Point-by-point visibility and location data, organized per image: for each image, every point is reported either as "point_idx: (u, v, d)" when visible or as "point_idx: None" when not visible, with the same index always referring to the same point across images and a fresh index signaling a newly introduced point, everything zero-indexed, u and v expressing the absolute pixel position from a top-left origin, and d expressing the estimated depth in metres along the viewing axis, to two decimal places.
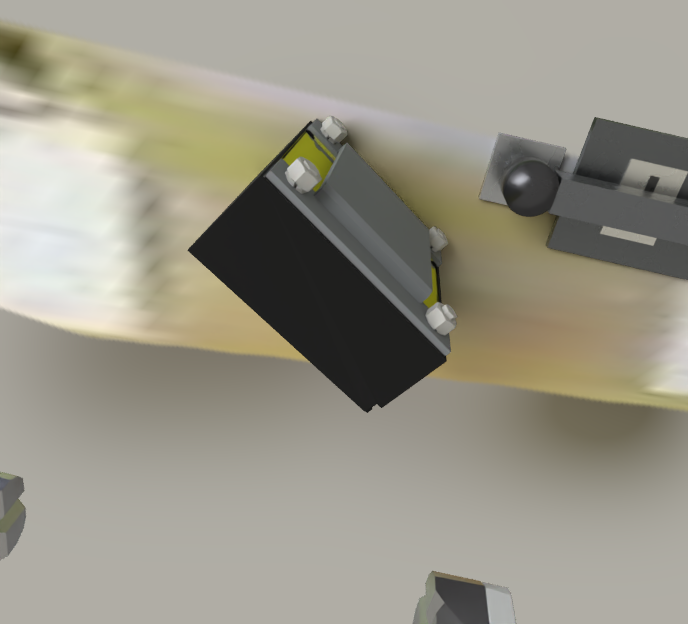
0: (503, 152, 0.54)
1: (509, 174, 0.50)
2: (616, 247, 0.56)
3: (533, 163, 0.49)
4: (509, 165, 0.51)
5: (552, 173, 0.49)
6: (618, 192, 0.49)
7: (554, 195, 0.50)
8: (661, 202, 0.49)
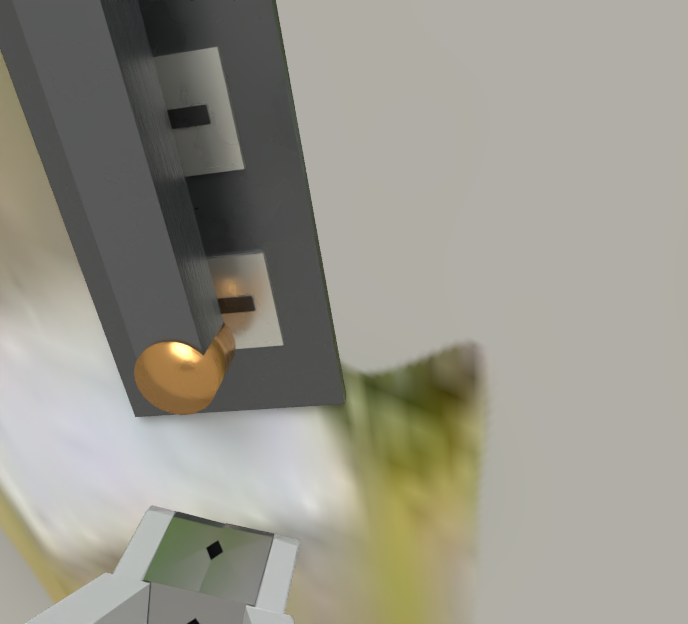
0: None
1: None
2: None
3: None
4: None
5: None
6: (99, 6, 0.20)
7: None
8: (132, 118, 0.21)
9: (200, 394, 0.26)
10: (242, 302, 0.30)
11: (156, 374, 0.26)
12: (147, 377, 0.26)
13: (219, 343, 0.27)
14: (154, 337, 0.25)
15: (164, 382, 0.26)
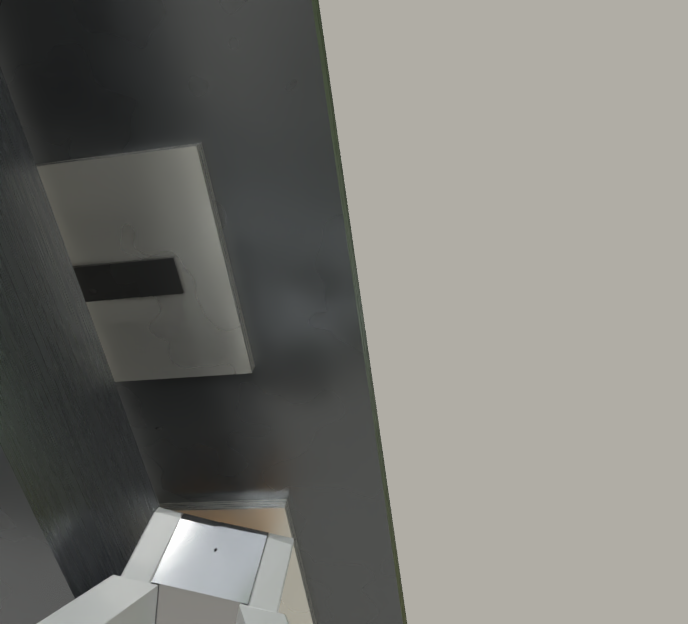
0: None
1: None
2: None
3: None
4: None
5: None
6: None
7: None
8: None
9: None
10: None
11: None
12: None
13: None
14: None
15: None
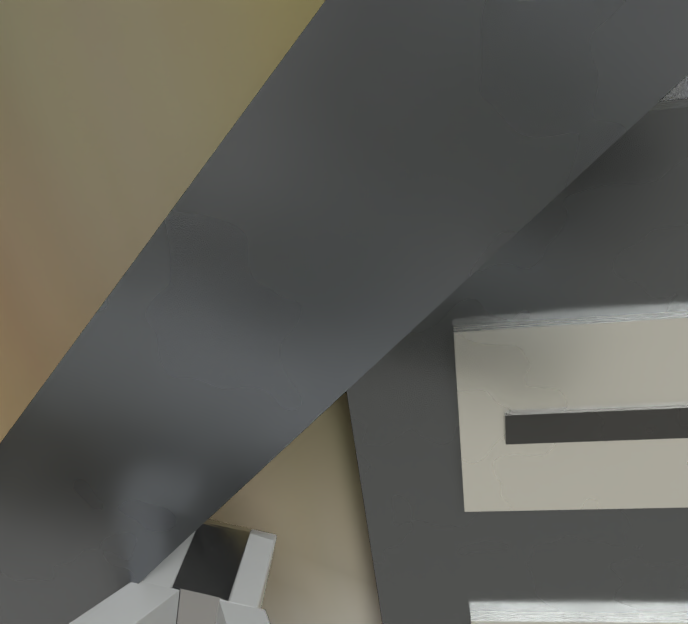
0: None
1: None
2: (413, 407, 0.14)
3: None
4: None
5: None
6: (419, 313, 0.07)
7: None
8: (243, 478, 0.09)
9: None
10: None
11: None
12: None
13: None
14: None
15: None
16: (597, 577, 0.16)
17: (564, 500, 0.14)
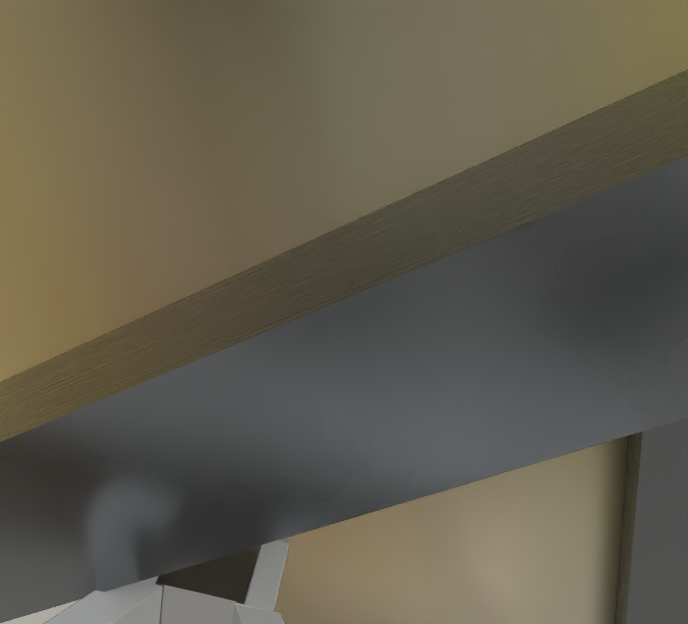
0: None
1: None
2: None
3: None
4: None
5: None
6: None
7: None
8: (525, 460, 0.08)
9: None
10: None
11: None
12: None
13: None
14: None
15: None
16: None
17: None
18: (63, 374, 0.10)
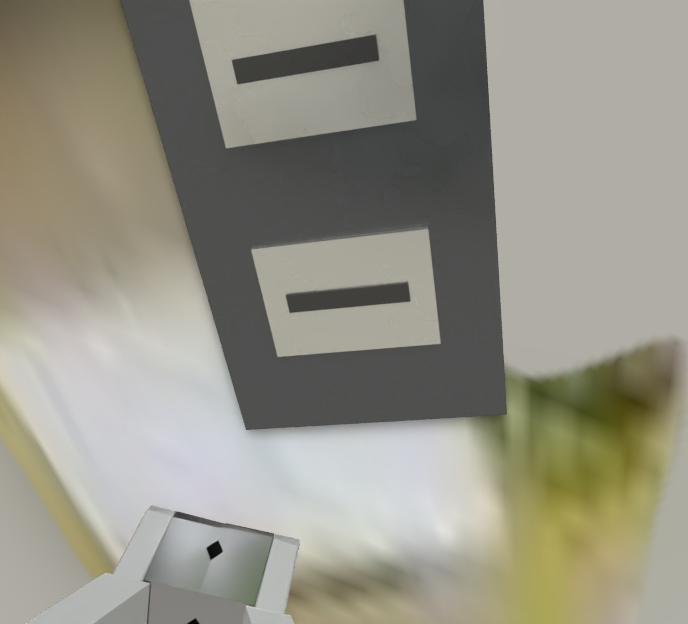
0: None
1: None
2: (180, 67, 0.21)
3: None
4: None
5: None
6: None
7: None
8: None
9: None
10: (395, 291, 0.24)
11: None
12: None
13: None
14: None
15: None
16: (327, 204, 0.23)
17: (285, 130, 0.22)
18: None
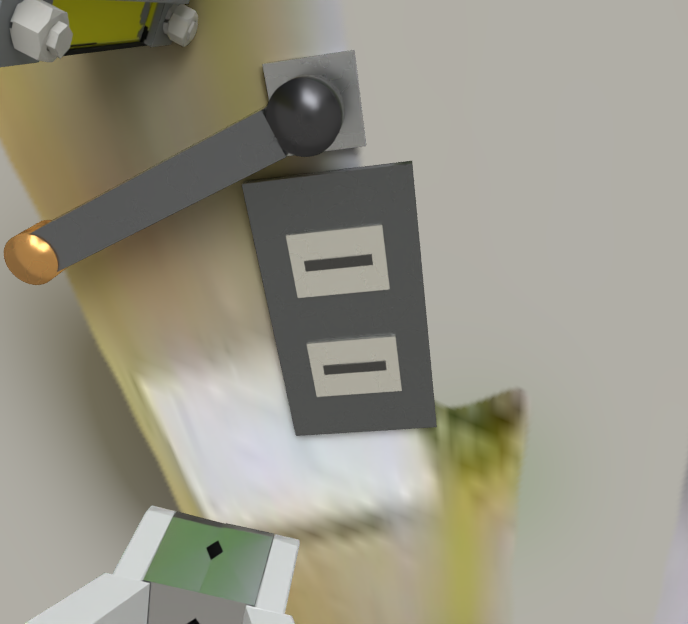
0: (332, 67, 0.39)
1: (341, 113, 0.35)
2: (278, 261, 0.45)
3: (328, 146, 0.36)
4: (344, 115, 0.37)
5: (300, 153, 0.36)
6: (219, 188, 0.38)
7: (275, 133, 0.36)
8: (172, 212, 0.39)
9: (30, 276, 0.41)
10: (379, 365, 0.48)
11: (27, 248, 0.40)
12: (21, 243, 0.40)
13: (65, 267, 0.43)
14: (51, 242, 0.40)
15: (24, 254, 0.41)
16: (346, 323, 0.47)
17: (327, 291, 0.45)
18: None
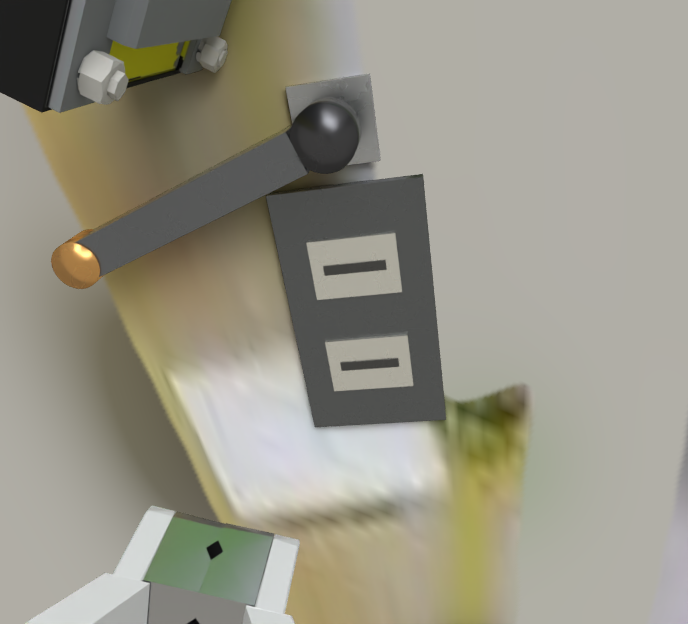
0: (350, 90, 0.42)
1: (358, 134, 0.39)
2: (299, 266, 0.49)
3: (346, 164, 0.40)
4: (360, 134, 0.41)
5: (320, 171, 0.40)
6: (247, 202, 0.41)
7: (298, 153, 0.39)
8: (204, 223, 0.42)
9: (74, 281, 0.45)
10: (392, 362, 0.51)
11: (72, 256, 0.44)
12: (67, 251, 0.44)
13: None
14: (94, 250, 0.44)
15: (70, 261, 0.45)
16: (361, 323, 0.51)
17: (344, 294, 0.49)
18: (119, 217, 0.45)
